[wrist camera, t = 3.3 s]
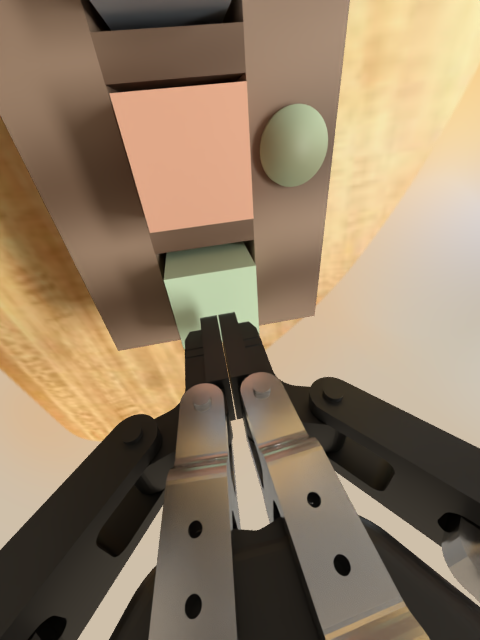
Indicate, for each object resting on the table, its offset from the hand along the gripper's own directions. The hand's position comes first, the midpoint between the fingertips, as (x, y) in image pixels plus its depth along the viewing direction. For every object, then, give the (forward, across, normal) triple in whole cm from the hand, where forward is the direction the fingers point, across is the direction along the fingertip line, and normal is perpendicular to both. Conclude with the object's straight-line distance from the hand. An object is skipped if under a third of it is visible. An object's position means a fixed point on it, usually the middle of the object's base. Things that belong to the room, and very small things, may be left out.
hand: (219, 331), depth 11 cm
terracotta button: (+6, 0, -6) cm, 8 cm away
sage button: (+6, 0, 0) cm, 6 cm away
